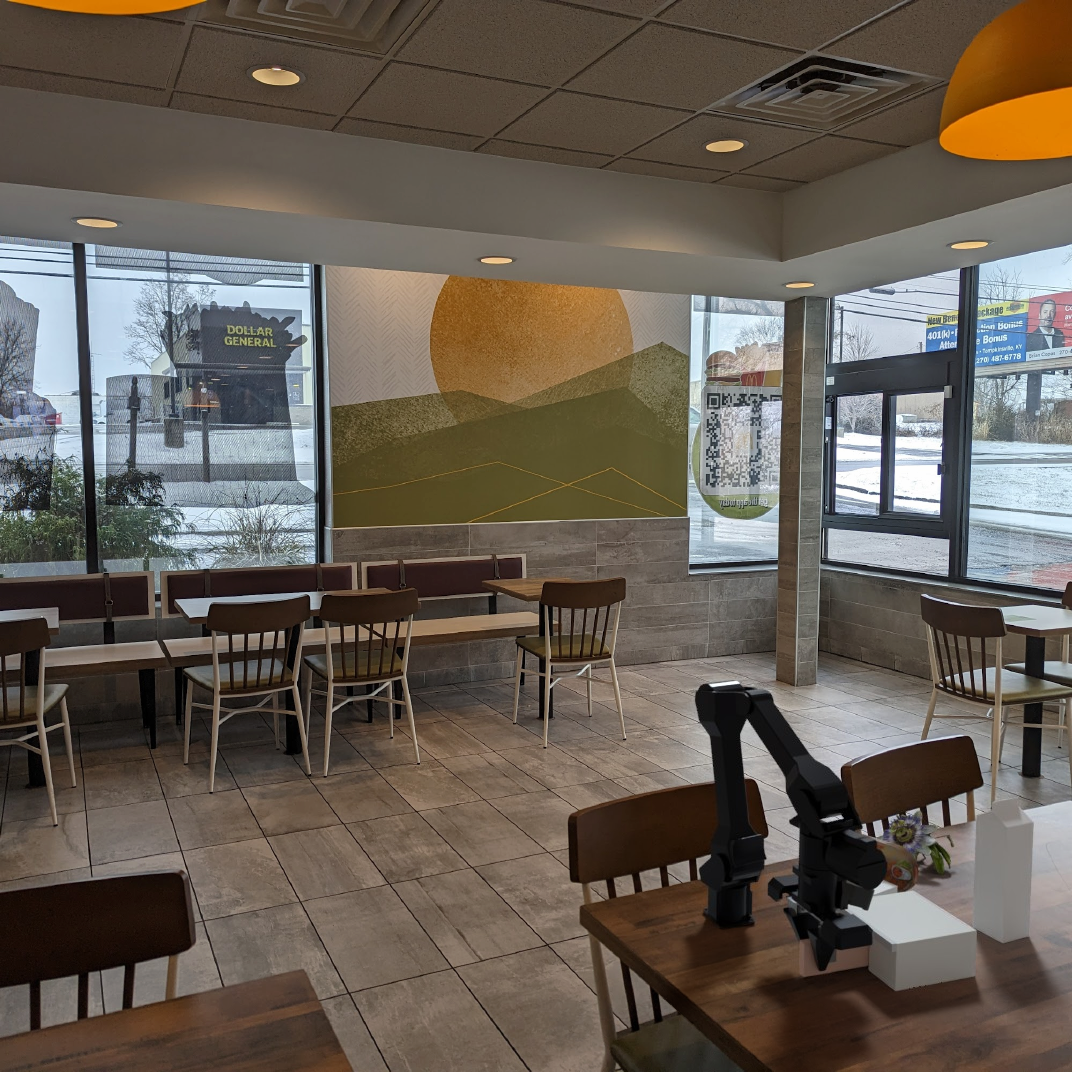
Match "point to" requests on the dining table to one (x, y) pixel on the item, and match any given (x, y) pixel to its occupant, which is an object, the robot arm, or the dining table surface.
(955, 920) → the white box
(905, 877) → the tin
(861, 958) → the pink plank
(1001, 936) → the milk
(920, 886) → the dining table surface
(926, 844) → the passion flower
